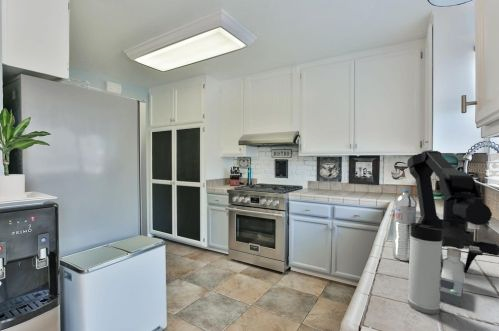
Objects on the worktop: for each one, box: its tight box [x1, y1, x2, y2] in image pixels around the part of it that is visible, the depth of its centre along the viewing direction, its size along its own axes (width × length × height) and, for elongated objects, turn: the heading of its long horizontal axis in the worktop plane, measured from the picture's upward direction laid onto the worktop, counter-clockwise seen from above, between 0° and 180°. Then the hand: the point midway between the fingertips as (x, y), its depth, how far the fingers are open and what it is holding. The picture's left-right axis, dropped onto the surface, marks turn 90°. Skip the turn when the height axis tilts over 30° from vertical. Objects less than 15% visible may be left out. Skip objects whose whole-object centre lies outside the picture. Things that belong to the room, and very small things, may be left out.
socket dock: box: [440, 276, 464, 308], centre depth 68 cm, size 10×9×3 cm
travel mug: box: [407, 222, 443, 315], centre depth 61 cm, size 6×7×20 cm
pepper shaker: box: [441, 247, 466, 284], centre depth 75 cm, size 4×4×10 cm
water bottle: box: [392, 189, 418, 262], centre depth 93 cm, size 7×7×25 cm
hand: (453, 269), depth 75 cm, fingers closed on pepper shaker, 5 cm apart
